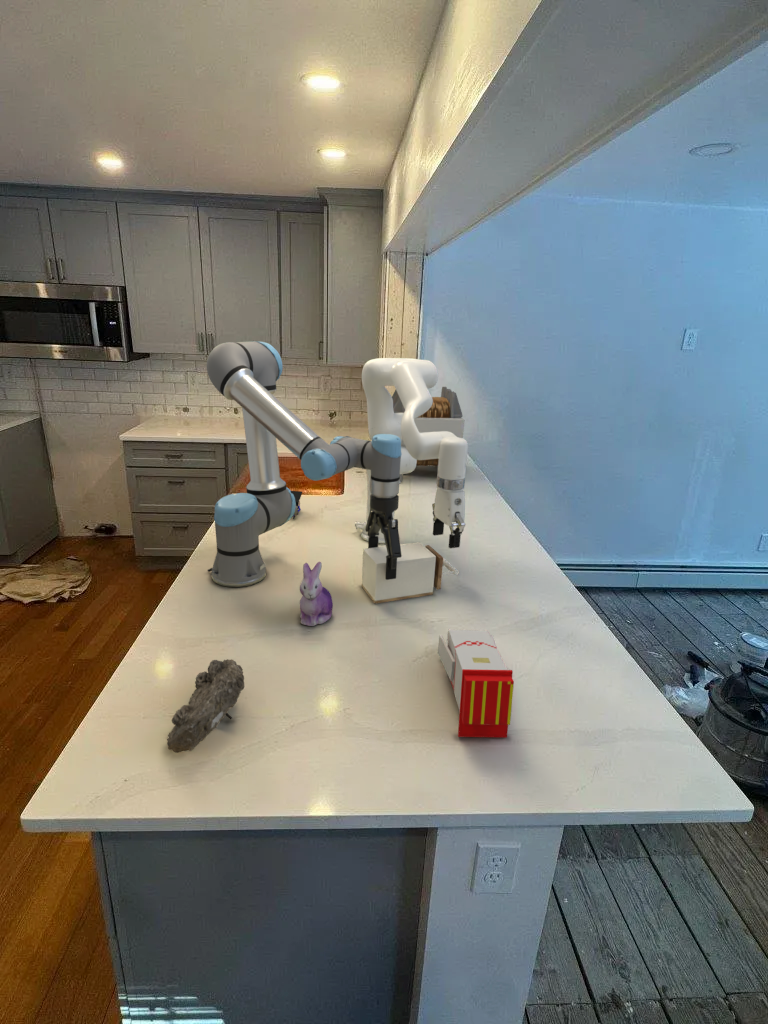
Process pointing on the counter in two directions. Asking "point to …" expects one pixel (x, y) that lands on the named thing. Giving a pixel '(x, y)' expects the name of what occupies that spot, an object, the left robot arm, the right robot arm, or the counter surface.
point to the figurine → (314, 598)
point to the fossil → (206, 705)
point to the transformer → (436, 418)
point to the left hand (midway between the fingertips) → (381, 568)
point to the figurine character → (297, 501)
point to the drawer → (438, 568)
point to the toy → (478, 682)
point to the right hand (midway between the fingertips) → (445, 540)
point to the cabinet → (398, 573)
